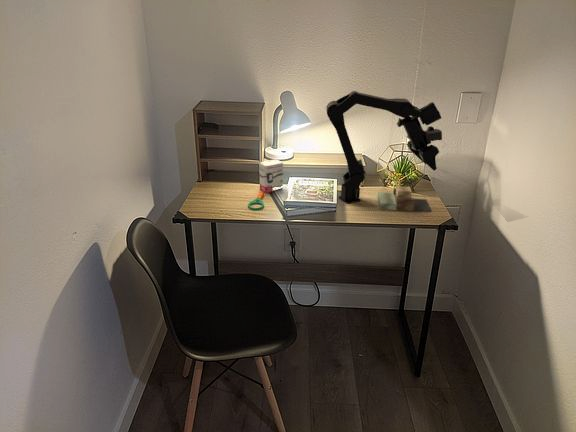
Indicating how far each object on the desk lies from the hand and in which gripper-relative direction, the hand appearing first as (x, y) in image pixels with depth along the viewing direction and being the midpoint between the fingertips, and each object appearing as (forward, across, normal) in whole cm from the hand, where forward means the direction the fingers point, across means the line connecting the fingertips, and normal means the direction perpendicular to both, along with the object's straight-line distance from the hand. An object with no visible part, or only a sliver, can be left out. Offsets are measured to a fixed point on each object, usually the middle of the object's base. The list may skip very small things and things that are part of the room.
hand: (430, 166), depth 187 cm
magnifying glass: (-19, +4, +64) cm, 67 cm away
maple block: (+6, -2, +15) cm, 16 cm away
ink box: (-18, +16, +59) cm, 64 cm away
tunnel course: (+8, -2, +16) cm, 18 cm away
